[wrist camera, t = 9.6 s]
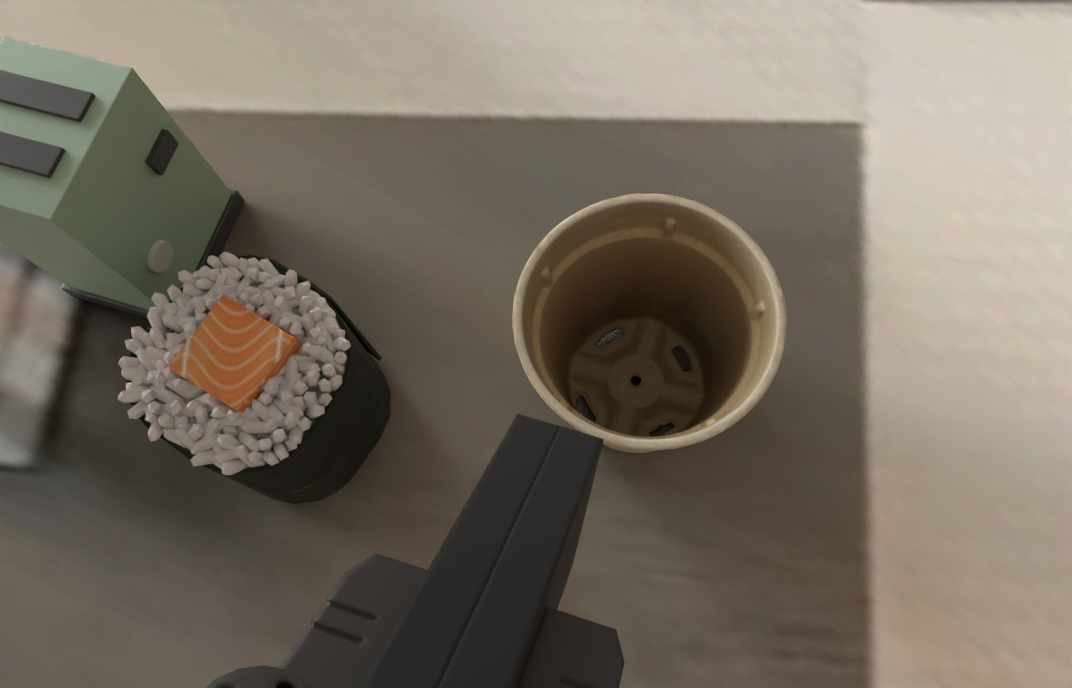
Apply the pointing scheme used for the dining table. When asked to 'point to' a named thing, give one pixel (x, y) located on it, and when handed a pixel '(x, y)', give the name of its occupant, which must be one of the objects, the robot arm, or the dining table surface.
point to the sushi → (257, 379)
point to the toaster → (102, 179)
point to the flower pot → (649, 321)
